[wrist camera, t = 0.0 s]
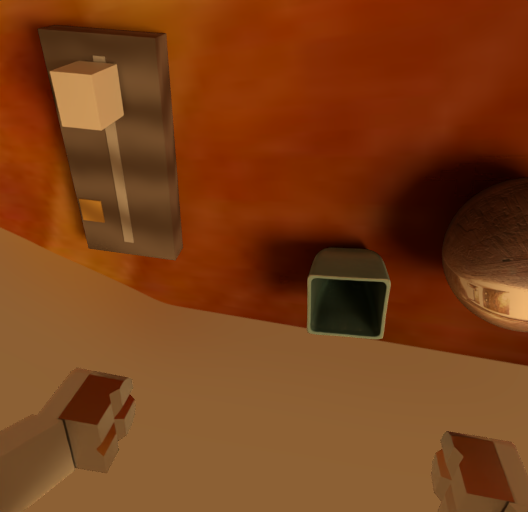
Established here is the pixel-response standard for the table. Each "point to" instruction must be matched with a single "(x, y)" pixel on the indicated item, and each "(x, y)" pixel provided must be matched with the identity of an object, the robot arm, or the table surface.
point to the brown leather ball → (491, 254)
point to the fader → (87, 94)
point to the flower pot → (347, 293)
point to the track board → (124, 143)
